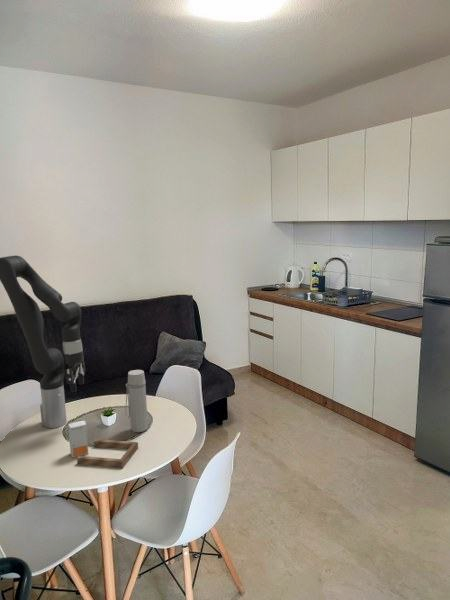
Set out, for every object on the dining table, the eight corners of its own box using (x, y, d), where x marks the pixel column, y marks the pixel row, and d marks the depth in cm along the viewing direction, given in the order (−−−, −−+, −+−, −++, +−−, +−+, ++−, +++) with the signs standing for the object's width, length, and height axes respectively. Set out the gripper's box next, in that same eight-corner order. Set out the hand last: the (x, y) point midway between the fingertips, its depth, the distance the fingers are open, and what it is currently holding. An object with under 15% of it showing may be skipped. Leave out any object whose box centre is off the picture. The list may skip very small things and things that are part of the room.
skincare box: (72, 458, 158) (69, 428, 156) (70, 453, 162) (67, 423, 160) (89, 454, 161) (86, 424, 159) (87, 449, 164) (84, 419, 162)
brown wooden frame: (77, 464, 154) (76, 457, 153) (96, 445, 167) (95, 439, 167) (122, 468, 150) (122, 461, 150) (138, 448, 164) (137, 442, 164)
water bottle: (150, 425, 183) (147, 369, 179) (145, 434, 175) (142, 375, 171) (129, 424, 184) (126, 369, 180) (123, 433, 176) (119, 375, 172)
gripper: (71, 346, 183) (75, 382, 186) (56, 356, 169) (61, 394, 172) (88, 345, 183) (92, 381, 186) (75, 355, 169) (79, 394, 172)
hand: (77, 388), depth 179 cm, fingers open, 8 cm apart
